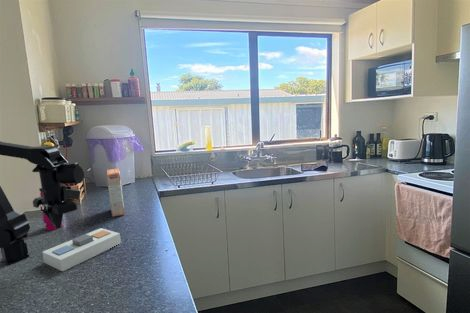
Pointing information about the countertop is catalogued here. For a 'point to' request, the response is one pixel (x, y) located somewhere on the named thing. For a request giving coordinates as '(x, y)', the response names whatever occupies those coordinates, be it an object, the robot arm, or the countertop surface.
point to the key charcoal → (82, 240)
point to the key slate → (62, 250)
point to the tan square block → (100, 234)
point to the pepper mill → (48, 223)
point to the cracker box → (115, 192)
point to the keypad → (81, 250)
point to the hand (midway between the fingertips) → (58, 228)
